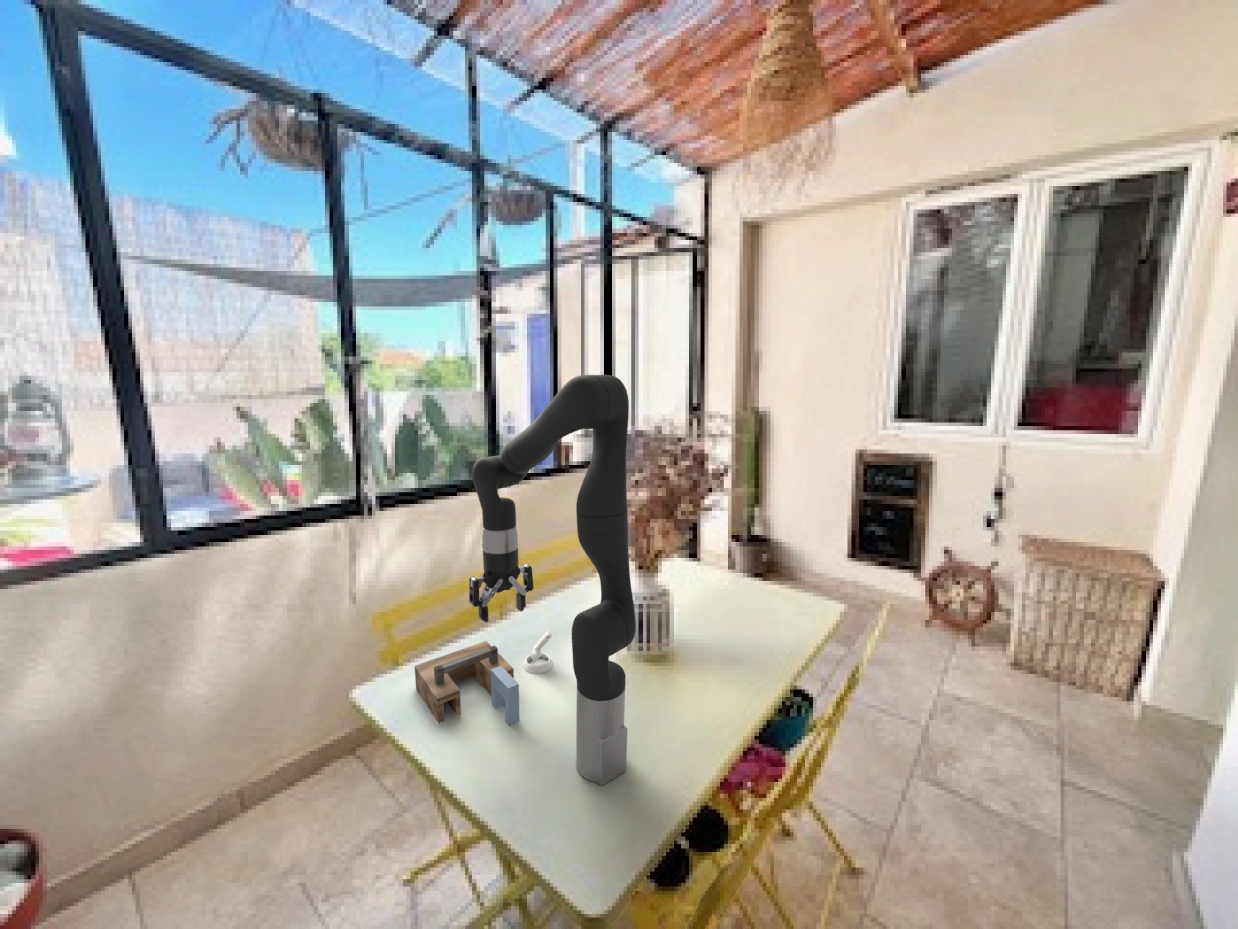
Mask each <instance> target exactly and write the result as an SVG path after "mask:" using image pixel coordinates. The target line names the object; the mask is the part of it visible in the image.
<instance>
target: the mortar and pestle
mask: <svg viewBox="0 0 1238 929" xmlns="http://www.w3.org/2000/svg"><path fill="white" fill-rule="evenodd" d="M552 636H553V633H552V631H550V630H547V631H545V633H544V634H543V635H542V636H541V637H540V639H538V641H537V642H536V644H534V646H533V647H532V653H530V654H528V655H527V656H526V658H525V659H524V661H523V664H522V668H523V670H524V671H525V672H527V673H529V674H538V675H539V674H543V673H546V672H548V671H549V670H551V669H552V667H553V663H554V662H553V660H552V658H551V656H550V655H549V654H548V653H546V652H542V651H541V650H542V649H543V647H544V646H546V645H547V643H548V642H549V641H550V639H551V638H552ZM540 658H544V659H548V660H547V662H546V663H544V664H541V665H532V664H530V663H529V662H528V661H529V660H531V661H532V662H538V661H539V659H540Z"/></svg>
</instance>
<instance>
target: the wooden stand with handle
mask: <svg viewBox="0 0 1238 929" xmlns="http://www.w3.org/2000/svg"><path fill="white" fill-rule="evenodd" d="M498 650H499V649H498V647H497V646H496V645H491V644H490V643H489V642H488V641H487V640H485V641H482V642H479V643H476V644H473V645H470V646H467V647H464V648H462V649H459V650H455V651H453V652H450V653H447V654H445V655H441V656H439V657H436V658H433V659H430V660H426V661H424V662H422V663H418V664H416V665H414V678H415V679H414V680H415V689H416V691H417V693H418V694H419V696H420V697H421V699H422V700H423V701H424V703H425V705H426V707H427V708H428V710H429V711H430V713H431V714H432V716H433V718H434V719H435V721H436V722H437V723H438V725H439V724H441V723H443V722H445V717H444V716H445V714H444V703H447V704H448V705H449V707H450V709H451V710H452V711H453V713H454V714H455V716H460V715H462V707H461V689H459V686H457V684H456V683H458V682H461V681H464V680H466V679H468V678H471V677H475V679H477V681H478V682H479V683H480V684H481V686H483V688H484V689H485V690H486V692H487V693H488V694H489V695H490V696H491V697H492V691H491V669H494V668H496V667H499V666H502V667H503V668H504V669H505V670H506V671H507V672H508V673H509V674H510V675H511V677H512V678H513V679H514V680H515V676H514V675H515V674H514V667H512V665H511V664H510V663H508V661H506V659H504V657H502V655H501V654H500V653H499V652H498Z"/></svg>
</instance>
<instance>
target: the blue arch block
mask: <svg viewBox="0 0 1238 929" xmlns="http://www.w3.org/2000/svg"><path fill="white" fill-rule="evenodd" d="M519 686H520V684H519V683H518V682H517V681H516V680H515V678H514V679H513V678H512V677H511V675H510V674H509V673H508V672H507V671H506V670H505V669H504V668H503V667H502V666H499V667H496V668H494V669H491V691H492V696H491V706H492V707H493V708H494V709H497V708H500V707H502V706H504V708H505V710H504V711H505V712H504V714H505V723H506V724H507V725H508V726H511V725H513V724H515V723H518V722H519V721H520V687H519Z"/></svg>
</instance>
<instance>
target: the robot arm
mask: <svg viewBox="0 0 1238 929" xmlns="http://www.w3.org/2000/svg"><path fill="white" fill-rule="evenodd" d="M629 412H630V405H629V395H628V391H627V388H626V385H625V384H624V383H623V381H622V380H621V379H620V378H619V377H617V376H614V375H609V374H582V375H577V376H574V377H573V378H571V379H569V380H568V381H567V382H566V383H565V384H564V385H563V386H562V387H561V388H560V390H559V391H558V392H556V394H555V396H554V397H553V398H552V399H551V400H550V401H549V403H548V404H547V406H546V407H545V408H544V409H543V410H542V411H541V413H539V415H538V416H537V417H536V418H535V419H534V420H533V421H532V423H531V424H529V425H528V426H527V427H525V429H524V430H522V431H521V432H519V433H518V434H517V435H516V436H515V437H513V438H512V439H511V440H509V441H508V442H507V443H506V444H505V445H504V446H503V448H502V450H501V453H500V454H499V455H493V456H484V457H480V458H478V459H477V460H476V461H475V463H474V464H473V466H472V471H471V479H472V483H473V486H474V489H475V492H476V494H477V498H478V501H479V505H480V507H481V514H482V517H481V518H482V538H481V539H482V541H481V542H482V543H481V548H482V560H483V574H482V576H477V577H475V576H470V577H469V580H468V582H469V585H468V586H469V588H468V589H469V590H468V592H469V593H468V594H469V595H468V599H469V600H468V601H469V603H470V604H471V605H472V606H473V607H475V608H476V607H478V618H479V619H480V621H483V623H488V622H489V621H490V620H489V606H488V604H489V602H490V601H491V599H494V596H495V595H496V594H499V593H502V592H503V591H509V590H510V591H511V588H513V589H514V590H515V591H517V593H516V594H515V596H516V609H517V610H518V611H519V612H523V611H524V610H525V608H526V605H527V603H526V602H527V601H526V597H527V593H528V592H529V591H530V592H532V591H533V590H534V587H535V586H534V578H533V567H532V566H531V565H529V564H528V563H525V562H524V563H522V565H521V566H519V537H518V536H519V534H518V530H517V514H516V513H517V512H516V510H517V508H516V503H515V501H514V500H513V499H511V498H508V497H503V496H501V497H500V495H499V490H500V489H506V488H509V487H513V486H515V485H517V484H519V483H520V482H522V481H523V480H524V478H525V477H526V476H527V474H528V473H529V472H530V471H531V470H533V469H534V468H535V467H537V466H538V465H539V464H541V463H542V462H544V461H545V460H546V459H547V458H548V457H549V456H550V455H551V454H552V453H553V451H554V449H555V446H556V444H557V442H559V441H560V440H561V439H563V438H564V437H566V436H568V435H570V434H572V433H575V432H578V431H580V430H592V451H591V452H592V454H591V459H590V463H589V465H588V468H587V471H586V472H585V475H584V478H583V480H582V483H581V486H580V488H579V491H578V495H577V499H576V507H575V508H576V511H575V512H576V528H577V530H576V531H577V537H578V541H579V542H578V543H579V544H580V546H581V548H582V550H583V552H584V553H585V554H586V556H587V557H588V559H589V561H590V562H591V563H592V564H593V566H594V567H595V569H596V571H597V574H598V577H599V583H600V592H601V593H600V594H601V595H600V602H599V603H598V604H597V605H594V606H591V607H588V609H585V610H583V611H582V612H581V611H580V612H579V613H578V614H576V616H575V617H574V619H573V622H572V627H571V647H572V648H571V649H572V651H571V652H572V666H573V672H574V676H575V679H576V721H575V722H576V725H575V727H576V730H575V731H576V733H575V734H576V735H575V736H576V738H575V740H576V741H575V743H576V746H575V747H576V748H575V749H576V750H575V751H576V752H575V753H576V756H575V758H576V760H575V761H576V762H575V763H576V764H575V766H576V770H577V771H578V773H579V774H580V775H581V776H582V778H584V779H585V780H588V781H591V782H595V783H598V785H600V786H604V785H605V784H607V783H608V782H609V783H610V781H612V780H613V779H615V778H616V777H618V776H620V775H621V774H623V773H624V772H626V770H627V757H628V756H627V753H628V727H626V726H625V710H626V709H625V707H626V704H625V703H626V702H625V701H626V681H627V680H626V673H625V670H624V668H623V667H622V666H621V665H620V664H618V663H617V662H614V661H612V660H609V659H610V657H611V656H613V655H615V654H617V653H618V652H620V651H622V650H623V649H625V648H626V647H628V646H629V645H630V644H631V643H632V642H633V641H634V639H635V635H636V632H637V631H636V629H637V628H636V627H637V622H636V613H635V612H636V611H635V605H634V604H635V603H634V598H633V597H634V596H633V591H632V583H631V574H630V573H631V572H630V557H629V556H630V555H629V521H628V514H629V513H628V499H627V497H628V496H627V443H628V442H627V440H628V431H629V430H628V428H629V426H628V425H629V417H630V416H629ZM520 574H521V575H522V579H523V580H522V581H523V585H521V584H520V583H519V582H518V579H519V576H520ZM483 583H484V584H485V585H484V586H483V588H482V589H481V593H480V588H481V587H482V584H483Z"/></svg>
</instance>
